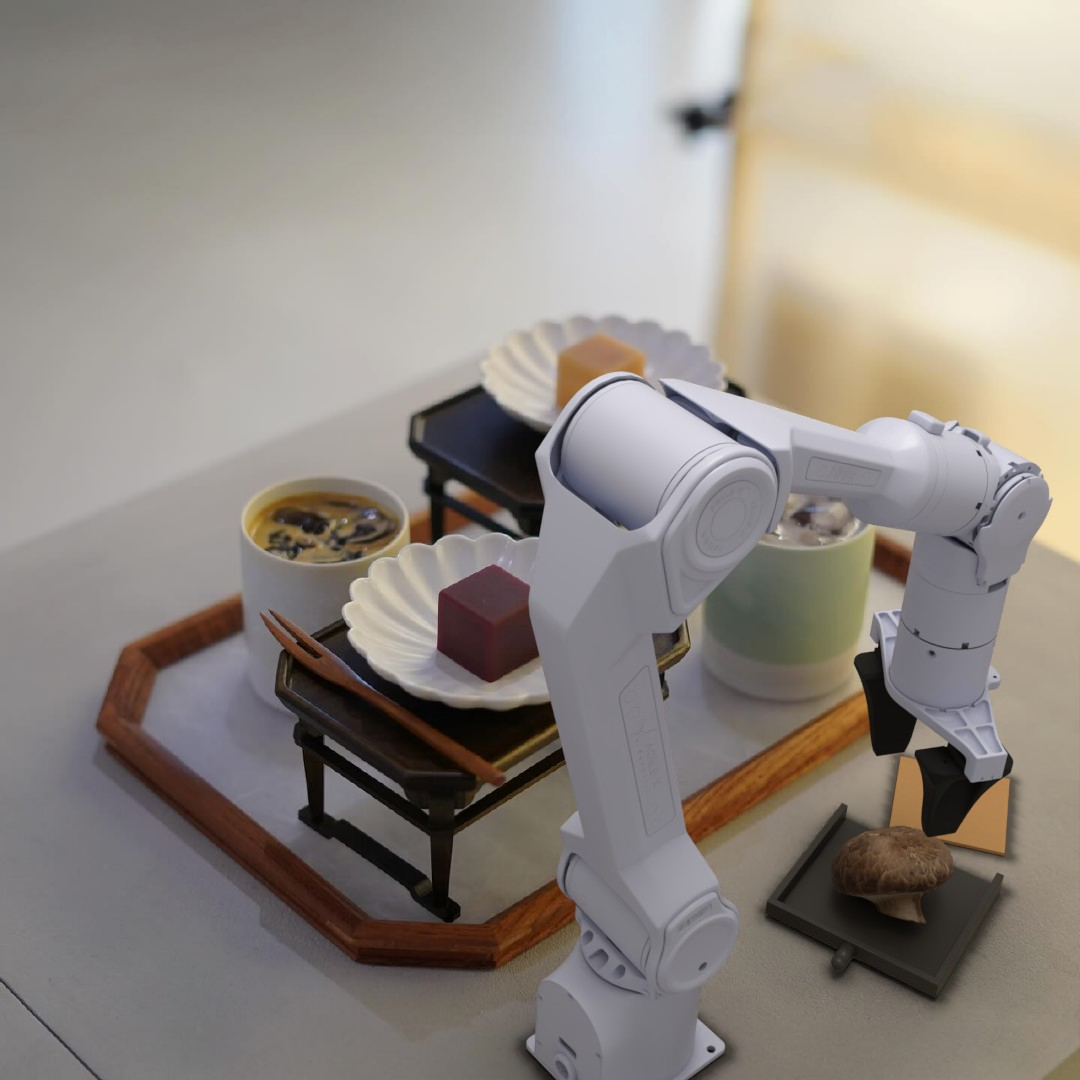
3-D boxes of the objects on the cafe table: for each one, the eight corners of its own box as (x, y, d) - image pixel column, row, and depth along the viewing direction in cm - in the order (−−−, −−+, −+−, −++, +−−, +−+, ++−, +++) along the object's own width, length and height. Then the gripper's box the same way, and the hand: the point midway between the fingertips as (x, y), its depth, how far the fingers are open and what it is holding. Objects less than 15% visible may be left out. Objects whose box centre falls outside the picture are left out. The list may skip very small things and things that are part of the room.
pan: (838, 818, 109) (841, 802, 108) (1000, 891, 103) (1004, 875, 102) (749, 936, 100) (752, 919, 99) (921, 1023, 94) (925, 1006, 93)
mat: (1004, 856, 106) (1004, 853, 106) (888, 830, 108) (889, 827, 108) (1009, 781, 113) (1010, 778, 112) (900, 758, 114) (900, 755, 114)
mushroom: (958, 934, 95) (937, 836, 95) (833, 947, 98) (813, 852, 98) (969, 900, 103) (950, 809, 103) (853, 913, 106) (834, 825, 106)
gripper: (1072, 687, 85) (1024, 860, 93) (955, 546, 97) (921, 710, 105) (957, 703, 84) (918, 878, 92) (852, 559, 96) (825, 724, 103)
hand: (913, 790), depth 98 cm, fingers open, 7 cm apart
